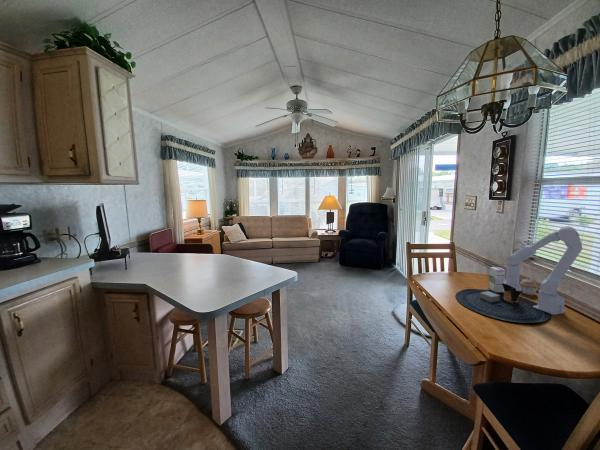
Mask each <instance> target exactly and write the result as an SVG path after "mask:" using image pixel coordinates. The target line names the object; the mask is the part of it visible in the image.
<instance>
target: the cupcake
mask: <svg viewBox="0 0 600 450" xmlns="http://www.w3.org/2000/svg"><path fill="white" fill-rule="evenodd" d="M519 285H520V287H521V290H522V291H523V292H522V293H523V295H525V294H526V296H534V295H536V292H537V291H538V289H539V287H538V286H537V285H538V284H537V283H536V282H535V281H534V280H533V279H532V278H530V277H527V278H525V279H524V278H523V279H522V280H521V281H519ZM522 293H521V294H522Z"/></svg>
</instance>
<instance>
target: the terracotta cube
mask: <svg viewBox="0 0 600 450" xmlns="http://www.w3.org/2000/svg"><path fill="white" fill-rule="evenodd" d="M503 299H504V300H503V301H505V300H506V302H508V303H510V302H511V304H514V303H513V302H515V303H518V302H519V298H518V299H517V301H511V293H510V291H504V292H503Z"/></svg>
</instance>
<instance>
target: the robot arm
mask: <svg viewBox="0 0 600 450" xmlns="http://www.w3.org/2000/svg"><path fill="white" fill-rule="evenodd" d="M560 241H562V242H563V243H564V244H565V246H566V250H565V251H564V253H563V254H562V256H561V257H560V259H559V260H558V262H557V263H556V265H555V266H554V267H553V269H552V271H551V272H550V274H549V275H547V277H545V278H544V279H543V280H542V281H541V284H540V285H539V290H538V294H537V295H538V297H537V304H536V305H533V306H532V307H533V308H535V309H537V310H540V311H542V312H546V313H548V314H550V315H554V316H556V315H560V314H565V304H566V303H565V302H566V300H565V298H564V297H563V296H560V295H559V293H558V287H559V284H560V283H561V281H562V279H563V278H564V276H565V275H566V273H567V272H568V271H569V269H570V268H571V266H572V265H573V263H574V262H575V260H576V259H577V257H579V255H580V253H581V252H582V250H583V244H582V241H581V237H580V234H579V232H578V231H577V230H576V228H574V227H572V226H570V225H569V226H563V227H561V228H560V229H556V230H554V231H552V232H550V233H548V234H547V235H544V237H542V238H540V239H539V240H537V241H536V242H534V243H533V244H532V245H528V244H527V245H521V246H520V249H518V250H516V251H513V252H512V253H511V254H510V255H508V256H507V259H506V262H507V265H506V272H505V279H504V282H503V283H502V286H503V288H504V291H510V293H511V301H517V299H518V300H519V297H520V295H521V294H522V292H523V291H522V290H521V287H520V285H519V284H520V276H521V263H522V261H527V260H528V259H530V258H531V257H533V256H534V255H536V254H537V250H539V249H541V248H543V247H544V246H546V245H549V244H551V243H552V242H560Z"/></svg>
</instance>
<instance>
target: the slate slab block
mask: <svg viewBox="0 0 600 450" xmlns="http://www.w3.org/2000/svg"><path fill="white" fill-rule="evenodd" d="M500 296H501V295H500V294H497V293H496V292H493V291H489V290H488V291H487V290H486V291H481V292H480V293H479V298H480V299H481V298H482V300H484V301H487V302H489V303H495V302H500V298H501V297H500Z"/></svg>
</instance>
